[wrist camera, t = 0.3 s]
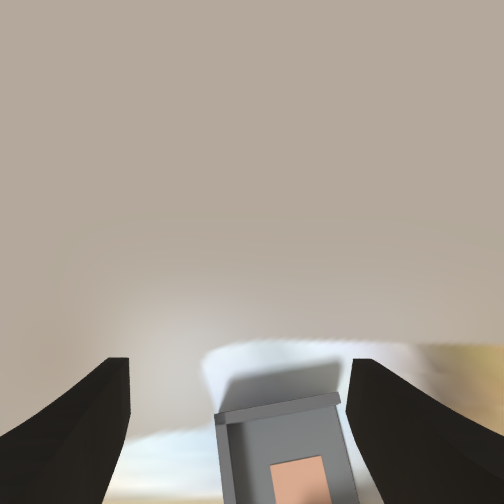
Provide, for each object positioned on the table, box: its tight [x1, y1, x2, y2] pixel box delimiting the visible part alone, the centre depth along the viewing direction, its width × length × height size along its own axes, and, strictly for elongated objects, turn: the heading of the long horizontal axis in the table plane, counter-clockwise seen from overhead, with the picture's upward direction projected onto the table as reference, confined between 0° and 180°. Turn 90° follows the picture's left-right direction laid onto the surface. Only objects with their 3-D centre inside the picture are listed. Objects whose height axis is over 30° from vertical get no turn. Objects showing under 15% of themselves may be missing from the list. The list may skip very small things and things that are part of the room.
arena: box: [214, 392, 359, 504], centre depth 34 cm, size 13×12×3 cm
